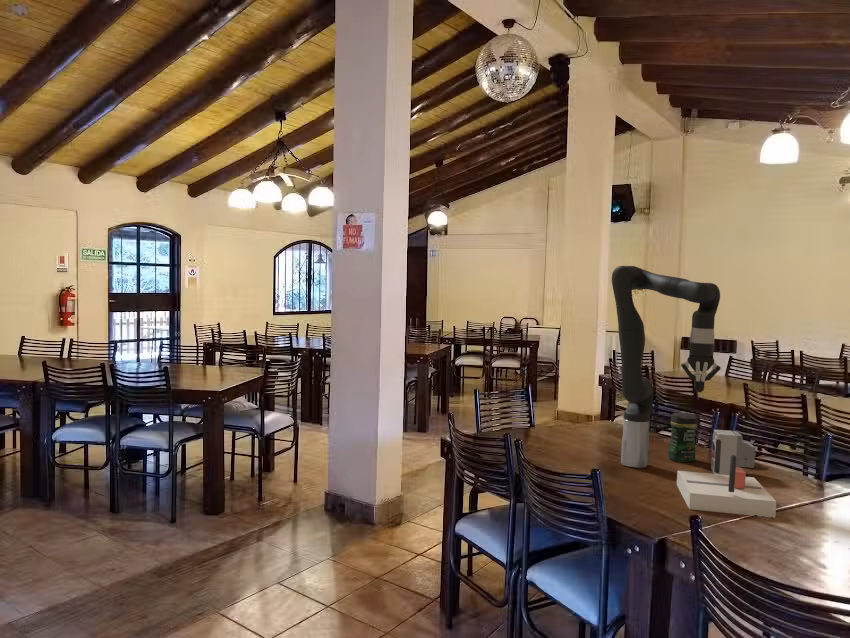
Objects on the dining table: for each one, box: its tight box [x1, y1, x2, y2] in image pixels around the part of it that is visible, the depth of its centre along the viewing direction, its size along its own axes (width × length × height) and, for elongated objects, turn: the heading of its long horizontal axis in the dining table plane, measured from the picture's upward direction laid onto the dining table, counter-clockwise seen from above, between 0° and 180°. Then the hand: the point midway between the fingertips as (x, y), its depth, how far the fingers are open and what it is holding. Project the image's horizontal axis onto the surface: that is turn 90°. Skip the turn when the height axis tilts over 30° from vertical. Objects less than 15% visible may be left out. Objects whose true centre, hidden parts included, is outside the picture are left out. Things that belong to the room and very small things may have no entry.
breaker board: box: [676, 470, 777, 519], centre depth 203 cm, size 24×24×5 cm
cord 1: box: [713, 439, 721, 474], centre depth 212 cm, size 2×2×11 cm
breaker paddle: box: [734, 467, 747, 489], centre depth 202 cm, size 3×6×5 cm, turn 167°
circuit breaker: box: [710, 429, 759, 475], centre depth 233 cm, size 8×14×15 cm, turn 78°
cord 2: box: [728, 455, 736, 492], centre depth 193 cm, size 2×2×11 cm
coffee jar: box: [667, 412, 698, 463], centre depth 249 cm, size 10×8×19 cm
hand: (699, 391), depth 217 cm, fingers closed
